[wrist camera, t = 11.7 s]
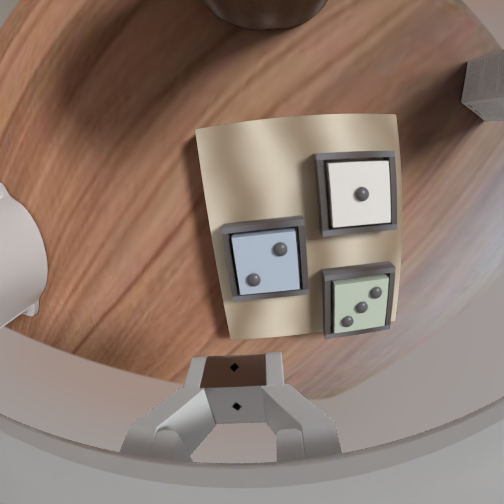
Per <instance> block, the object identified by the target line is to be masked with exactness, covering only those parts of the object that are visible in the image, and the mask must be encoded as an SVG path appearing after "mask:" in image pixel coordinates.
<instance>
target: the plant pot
mask: <svg viewBox="0 0 504 504" xmlns="http://www.w3.org/2000/svg"><path fill="white" fill-rule="evenodd" d="M327 1H328V0H204V2H205V3H206V5H207V6H208V8H209V9H210V10H211V11H212V12H213V13H214V14H216V15H217V16H218V17H220V18H221V19H223V20H225V21H227V22H229V23H231V24H234V25H236V26H239V27H243V28H248V29H254V30H265V29H274V28H284V29H285V28H290V27H293V26H297V25H299V24H302V23H304V22H306V21H308V20H309V19H311V18H312V17H314V16H315V15H316V14H317V13H318V12H319V11H321V9H322V8H323V7H324V6H325V4H326V2H327Z"/></svg>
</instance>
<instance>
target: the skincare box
mask: <svg viewBox="0 0 504 504" xmlns="http://www.w3.org/2000/svg"><path fill="white" fill-rule="evenodd" d="M461 103H462V104H464V105H465V106H466V107H468V108H469V109H470V110H472V111H473V112H474V113H475V114H477V115H478V116H479V117H480V118H482V119H483V120H484V121H504V50H501V51H498V52H495V53H491V54H488V55H485V56H481V57H478V58H475V59H472V60H469V61H468V62H467V70H466V76H465V83H464V88H463V94H462V99H461Z"/></svg>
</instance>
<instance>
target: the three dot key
mask: <svg viewBox="0 0 504 504" xmlns="http://www.w3.org/2000/svg"><path fill="white" fill-rule="evenodd" d="M388 283H389V278H388V277H387V275H386V274H379V275H371V276H363V277H355V278H347V279H339V280H331V324H332V327H333V330H334V333H341V332H348V331H355V330H361V329H367V328H373V327H379V326H384V325H385V316H386V306H387V296H388Z"/></svg>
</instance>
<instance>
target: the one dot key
mask: <svg viewBox="0 0 504 504" xmlns="http://www.w3.org/2000/svg"><path fill="white" fill-rule="evenodd" d="M324 169H325V180H326V192H327V206H328V221H329V223H330V225H331V226H332V227H333V228H334V227H345V226H356V225H366V224H378V223H389V222H391V203H390V176H389V161H385V160H365V161H344V162H328V163H324Z"/></svg>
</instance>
